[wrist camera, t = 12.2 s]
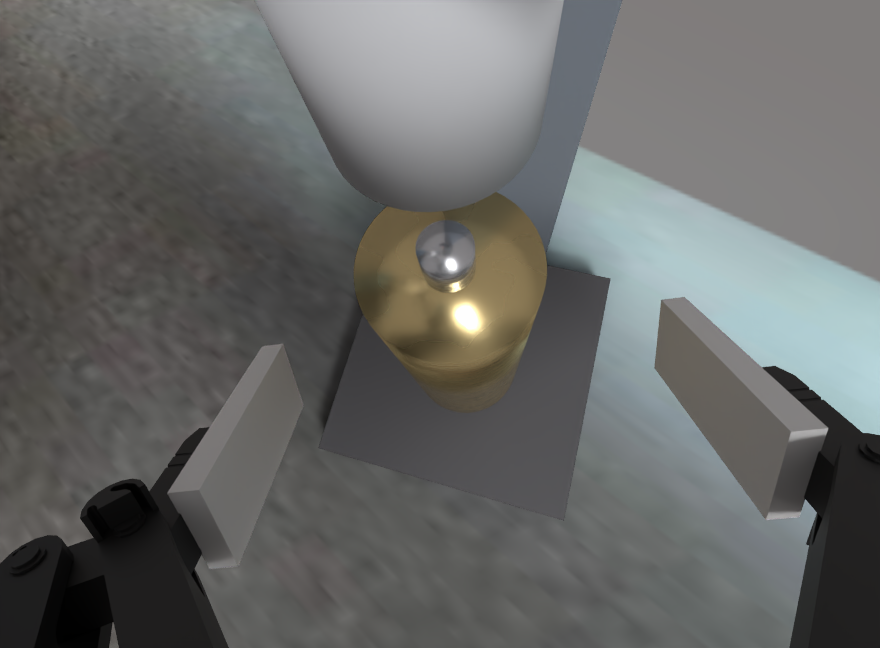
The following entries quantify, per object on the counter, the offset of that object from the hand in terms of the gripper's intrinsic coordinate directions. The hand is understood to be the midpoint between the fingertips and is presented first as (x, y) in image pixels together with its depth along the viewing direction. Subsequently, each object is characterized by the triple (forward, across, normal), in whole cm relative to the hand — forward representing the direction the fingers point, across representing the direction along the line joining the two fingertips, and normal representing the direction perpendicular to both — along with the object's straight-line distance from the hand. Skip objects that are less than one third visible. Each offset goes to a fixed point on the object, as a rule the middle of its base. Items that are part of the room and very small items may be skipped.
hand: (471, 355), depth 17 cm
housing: (+6, 0, -4) cm, 7 cm away
